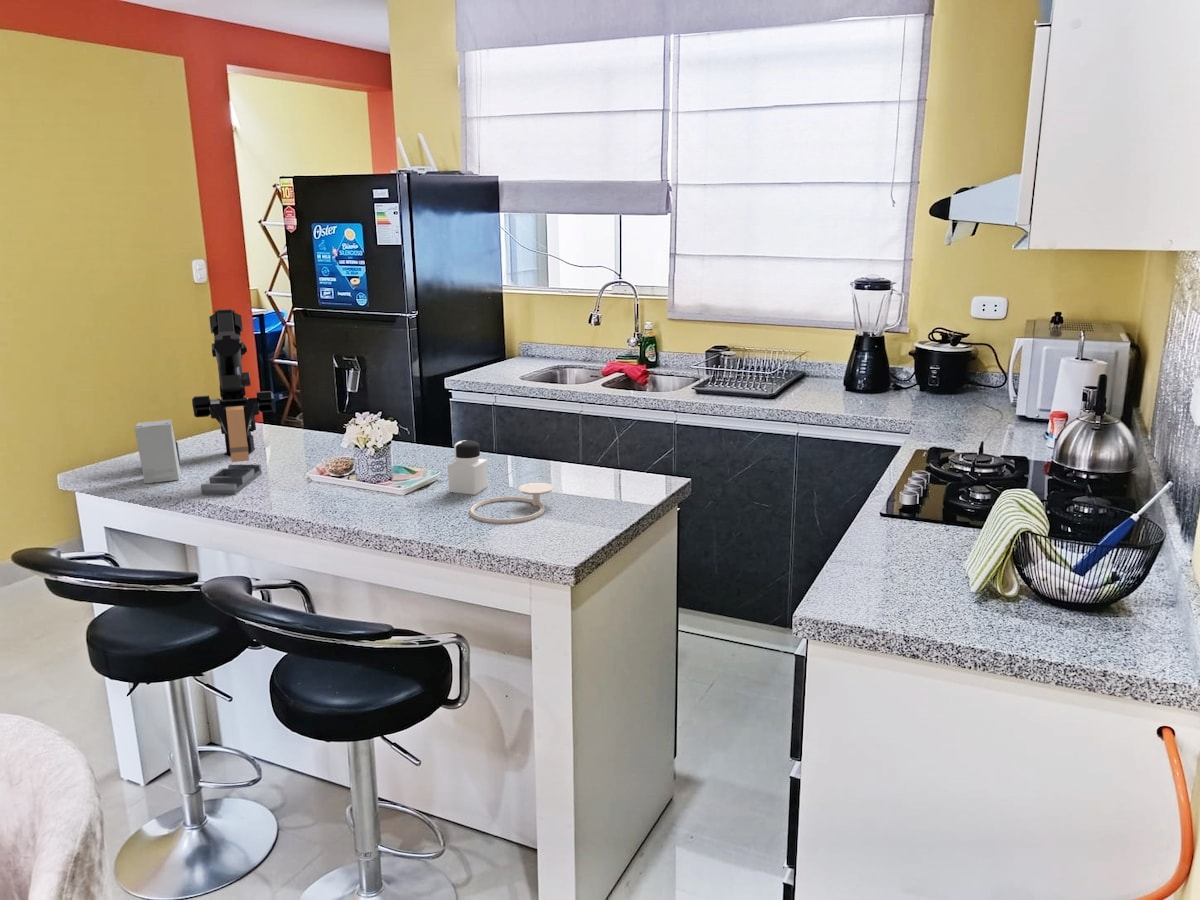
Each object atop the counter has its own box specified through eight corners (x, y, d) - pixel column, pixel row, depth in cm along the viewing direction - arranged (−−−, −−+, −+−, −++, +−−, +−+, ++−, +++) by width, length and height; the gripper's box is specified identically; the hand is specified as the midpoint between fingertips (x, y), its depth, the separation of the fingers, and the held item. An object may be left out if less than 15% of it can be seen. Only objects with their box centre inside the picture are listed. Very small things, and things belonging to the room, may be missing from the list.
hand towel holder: (454, 492, 206) (531, 476, 218) (455, 510, 208) (531, 494, 219) (492, 511, 193) (572, 492, 205) (493, 530, 194) (572, 511, 206)
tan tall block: (230, 458, 227) (225, 407, 224) (248, 456, 229) (243, 405, 225) (231, 462, 223) (225, 410, 220) (249, 460, 225) (244, 409, 221)
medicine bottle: (488, 487, 224) (486, 439, 221) (475, 495, 217) (473, 446, 214) (462, 484, 226) (460, 437, 223) (448, 492, 220) (446, 444, 217)
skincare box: (180, 474, 235) (173, 418, 231) (179, 481, 230) (171, 423, 226) (144, 478, 232) (137, 421, 228) (142, 484, 227) (134, 426, 223)
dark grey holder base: (201, 494, 218) (200, 483, 218) (230, 473, 236) (229, 463, 235) (235, 494, 219) (234, 483, 218) (261, 473, 236) (260, 463, 235)
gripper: (187, 364, 220) (192, 418, 213) (269, 359, 227) (276, 411, 220) (192, 390, 229) (196, 443, 222) (270, 384, 236) (277, 435, 229)
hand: (237, 432), depth 223 cm, fingers closed on tan tall block, 4 cm apart
